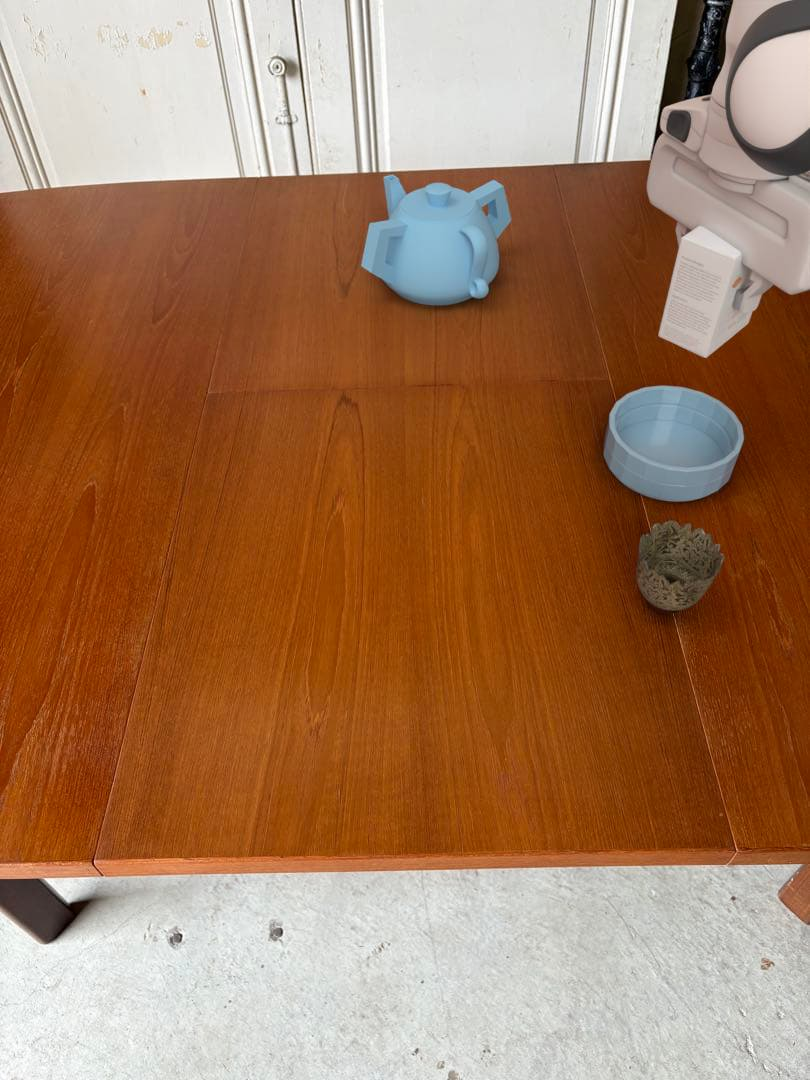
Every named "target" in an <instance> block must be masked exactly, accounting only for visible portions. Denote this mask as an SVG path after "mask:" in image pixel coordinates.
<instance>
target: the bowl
mask: <svg viewBox="0 0 810 1080" xmlns="http://www.w3.org/2000/svg"><path fill="white" fill-rule="evenodd" d="M744 435H745V434H744V428H743V425H742V423H741V421H740V420H739V418H738V416H737V415H736V414H735V412H734V411H733V410H732V409H731V408H729V407H728V406H727V405H726V404H725V403H723V402H722V401H720V400H719V399H717V398H715V397H713V396H711V395H709V394H707V393H705V392H703V391H700V390H695V389H691V388H688V387H684V386H675V385H654V386H645V387H642V388H639V389H635V390H633V391H630V392H628V393H626V394H625V395H623V396H622V397H621V398H620V399H618V400H617V401H616V402H615V403H614V405H613V407H612V408H611V411H610V412H609V415H608V421H607V425H606V430H605V433H604V438H603V439H604V440H603V452H602V453H603V454H602V455H603V458H604V460H605V463H606V465H607V467H608V469H609V470H610V472H611V473H612V475H614V476H615V478H616V479H617V480H618V481H619V482H621V484H623V485H624V486H625V487H626V488H628V489H630V490H632V491H633V492H636V493H637V494H640V495H641V496H645V497H648V498H650V499H654V500H657V501H658V500H659V501H665V502H674V503H675V502H676V503H677V502H678V503H679V502H691V501H697V500H699V499H702V498H707V497H708V496H710V495H712V494H714V493H717V492H718V491H719V490H720V489H721V488H722V487H724V485H726V484H727V483H729V480H730V478H731V476H732V473H733V470H734V468H735V465H736V462H737V460H738V457H739V454H740V452H741V449H742V447H743V445H744V441H745V436H744Z"/></svg>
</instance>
